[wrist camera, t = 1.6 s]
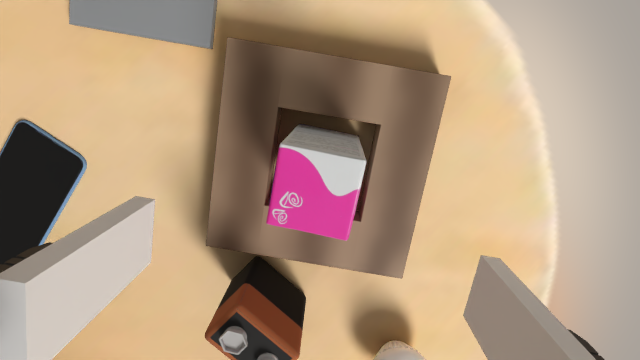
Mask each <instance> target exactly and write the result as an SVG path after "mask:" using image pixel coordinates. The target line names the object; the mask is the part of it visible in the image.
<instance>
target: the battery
mask: <svg viewBox="0 0 640 360" xmlns="http://www.w3.org/2000/svg"><path fill="white" fill-rule="evenodd" d="M305 303H306V297H305V295H304V294H303V293H302V292H300V291H299V290H298V289H297V288H296V287H295V286H294V285H292V284H291V283H290V282H289V281H288V280H287V279H285V278H284V277H283V276H282V275H281V274H280V273H279V272H277V271H276V270H275V269H274V268H273V267H272V266H271V265H269V264H268V263H267V262H266V261H265V260H264V259H262V258H261V257H259V256H257V257H255V258H254V259H253V260H252V261H251V262H250V263H249V264H248V265H247V266H246V267H245V268H244V269H243V270H242V271H241V272H240V273H239V274H238V275H237V276H236V277H235V278H234V279H233V280H232V281H231V283H230V285H229V287H228V289H227V291H226V293H225V295H224V297H223V299H222V301H221V303H220V305H219V307H218V309H217V311H216V313H215V315H214V317H213V319H212V321H211V323H210V324H209V326H208V328H207V330H206V333H205V338H206V340H207V341H209V342H210V343H211V344H212V345H213V346H215V347H216V348H217V349H218V350H220V351H221V352H222V353H223V354H225V355H226V356H227V357H228V358H230V359H231V360H297V359H298V358H299V355H300V346H301V338H302V329H303V320H304V312H305Z"/></svg>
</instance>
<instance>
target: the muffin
mask: <svg viewBox="0 0 640 360" xmlns="http://www.w3.org/2000/svg"><path fill="white" fill-rule="evenodd" d="M373 360H426V359H425V358H424V357H423V356H422V355H421V353H419V352H418V351H417V350H416V349H414V348H412V347H411V346H409V345H407V344H406V343H404V342H401V341H396V340H395V341H393V340H392V341H389V342H387V343H386V344H384V345H383V346H382V347H381V349H380V350H379V352H378V353H377V354H376V356H375V357H374V359H373Z"/></svg>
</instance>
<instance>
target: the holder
mask: <svg viewBox="0 0 640 360" xmlns="http://www.w3.org/2000/svg"><path fill="white" fill-rule="evenodd" d="M450 80H451V76H447V75H441V74H435V73H430V72H424V71H418V70H413V69H407V68H401V67H395V66H390V65H384V64H378V63H373V62H367V61H361V60H355V59H350V58H344V57H338V56H333V55H327V54H321V53H315V52H310V51H304V50H298V49H293V48H287V47H281V46H275V45H270V44H264V43H258V42H253V41H247V40H241V39H235V38H230V37H228V38H227V47H226V57H225V67H224V76H223V86H222V95H221V105H220V115H219V124H218V134H217V144H216V153H215V163H214V172H213V182H212V192H211V201H210V211H209V221H208V230H207V240H206V246H210V247H216V248H222V249H228V250H234V251H240V252H246V253H252V254H258V255H264V256H270V257H276V258H282V259H288V260H294V261H300V262H306V263H312V264H318V265H323V266H329V267H335V268H341V269H347V270H353V271H359V272H365V273H371V274H377V275H383V276H389V277H395V278H401V279H402V277H403V273H404V269H405V265H406V260H407V256H408V252H409V248H410V244H411V240H412V236H413V232H414V228H415V223H416V219H417V215H418V211H419V207H420V203H421V199H422V195H423V191H424V186H425V182H426V178H427V174H428V170H429V166H430V162H431V158H432V154H433V149H434V145H435V141H436V137H437V133H438V129H439V125H440V121H441V117H442V112H443V108H444V104H445V100H446V96H447V92H448V88H449V84H450ZM282 108H287V109H293V110H299V111H304V112H310V113H316V114H322V115H328V116H333V117H339V118H345V119H351V120H356V121H362V122H368V123H374V124H376V128H375V133H374V138H373V143H372V148H371V153H370V158H369V163H368V168H367V173H366V178H365V182H364V187H363V192H362V197H361V202H360V207H359V211H355V215H354V219H353V223H352V228H351V231H350V235H349V238H348V240H347V241H344V240H340V239H336V238H331V237H326V236H322V235H317V234H313V233H308V232H304V231H299V230H295V229H289V228H283V227H278V226H273V225H269V224H267V223H266V221H267V215H268V209H269V203H270V197H271V196H270V189H271V182H272V175H273V168H274V161H275V154H276V147H277V140H278V133H279V126H280V119H281V112H282Z"/></svg>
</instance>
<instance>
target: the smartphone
mask: <svg viewBox="0 0 640 360" xmlns="http://www.w3.org/2000/svg"><path fill="white" fill-rule="evenodd" d="M86 167H87V162H86V160H85V158H84V157H83V156H82V155H81V154H79V153H78V152H75V150H73V149H71V148H70V147H68V146H67V145H65V144H64V143H63V142H61V141H59V140H57V139H55V138H54V137H52V135H50V134H49V133H47V132H46V131H44V130H42V129H41V128H39V127H38V126H36V125H34V124H33V123H32V122H30V121H27V120H22V121H19V122H18V123H16V125H15V126H14V128H13V130H12V132H11V134H10V136H9V138H8V140H7V142H6V144H5V145H4V147H3V149H2V151H1V153H0V264H4V262H6V261H8V260H10V259H11V258H16V256H17V255H19V254H21V253H22V252H24V251H26V250H28V249H30V248H33V247H36V246H39V245H43V243H44V242H45V240H46V238H47V237H48V235H49V233H50V231H51V230H52V228H53V226H54V224H55V223H56V221H57V219H58V217H59V216H60V214H61V212H62V210H63V209H64V207H65V205H66V203H67V202H68V200H69V198H70V196H71V195H72V193H73V191H74V189H75V188H76V186H77V184H78V183H79V181H80V179H81V177H82V176H83V174H84V172H85V170H86Z"/></svg>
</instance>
